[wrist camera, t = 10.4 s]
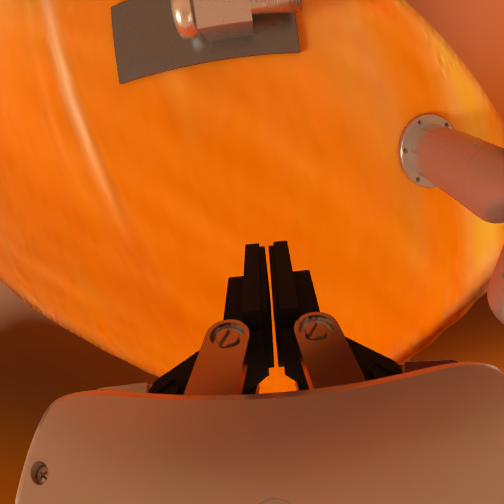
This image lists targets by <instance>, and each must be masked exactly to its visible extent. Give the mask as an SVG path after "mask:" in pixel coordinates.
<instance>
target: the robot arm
mask: <svg viewBox="0 0 504 504" xmlns="http://www.w3.org/2000/svg"><path fill="white" fill-rule="evenodd" d="M418 121H419V122H418ZM403 150H404V151H403ZM399 158H400V162H401V166H402V168H403V170H404V172H405V173H406V175H407V176H408V177H409V178H410V179H411V180H412V181H413V182H414V183H416V184H418V185H420V186H422V187H426V188H433V187H438V188H439V189H441V190H442V191H444V192H445V193H447V194H448V195H449V196H451V197H452V198H454V199H455V200H456V201H458V202H459V203H460V204H462V205H463V206H464V207H466V208H467V209H468V210H470V211H471V212H472V213H474V214H475V215H476V216H478V217H479V218H480V219H482V220H484V221H486V222H489V223H504V148H501V147H499V146H496V145H494V144H491V143H489V142H486V141H484V140H481V139H479V138H476V137H473V136H471V135H468V134H465V133H462V132H459V131H456V130H455V129H454V128H453V126H452V125H451V124H450V123H449V122H448V121H447V120H446V119H445V118H443V117H441V116H438V115H435V114H422V115H420V116H417V117H415V118H414V119H413V120H411V121H410V122H409V123H408V124H407V126H406V127H405V129H404V131H403V133H402V136H401V139H400V143H399ZM269 257H270V270H271V284H272V299H273V312H274V322H275V333H276V343H277V354H278V365H279V367H285V375H287V376H288V377H290V378H291V379H293V380H294V381H295V386H296V390H297V391H290V392H279V393H265V394H259V389H260V386H259V383H260V382H261V381H262V380H263V379H265V378H266V377H267V376H269V368H272V367H274V355H273V336H272V318H271V302H270V292H269V282H268V273H267V264H266V255H265V247H264V246H263V247H259V243H258V244H247V245H246V246H245V262H244V276H241V277H230V278H229V280H228V288H227V295H226V303H225V312H224V320H223V321H219V322H217V323H215V324H214V325H212V326H211V327H210V328H209V329H208V331H207V333H206V335H205V337H204V340H203V343H202V346H201V348H200V350H199V351H198V352H196V353H195V354H193V355H192V356H191V357H189V358H188V359H186V360H185V361H183V362H182V363H180V364H179V365H178V366H176V367H175V368H173V369H172V370H170V371H169V372H167V373H166V374H164V375H163V376H161V377H160V378H158V379H157V380H156V381H155V382H154V383H153V385H148V384H147V383H139V384H132V385H123V386H115V387H106V388H101V389H97V390H96V391H84V392H78V393H74V394H69V395H66V396H63V397H61V398H59V399H57V400H56V401H54V402H53V403H52V404H51V405H50V406H49V408H48V409H47V411H46V412H45V414H44V416H43V418H42V420H41V422H40V423H39V425H38V428H37V430H36V433H35V435H34V437H33V440H32V443H31V445H30V448H29V451H28V454H27V457H26V461H25V464H24V468H23V471H22V475H21V479H20V483H19V487H18V491H17V496H16V502H15V504H504V373H503V372H502V371H501V370H499V369H498V368H497V367H495V366H493V365H489V364H485V363H478V362H458V361H455V360H438V361H411V362H404V364H403V365H398V364H397V363H396V362H395V361H393V360H391V359H389V358H387V357H385V356H383V355H381V354H379V353H377V352H375V351H373V350H371V349H369V348H367V347H365V346H363V345H361V344H359V343H357V342H355V341H353V340H351V339H349V338H347V337H345V336H344V334H343V332H342V330H341V328H340V326H339V324H338V322H337V321H336V320H335V318H334V317H332V316H331V315H329V314H326V313H323V312H320V311H319V306H318V302H317V298H316V294H315V290H314V287H313V283H312V279H311V275H310V272H309V270H304V271H294V272H293V271H292V266H291V260H290V255H289V249H288V244H287V241H278V242H274V245H273V246H269ZM488 302H489V305H490V308H491V310H492V312H493V313H494V314H495V316H496V317H497V318H498V319H499V320H500V321H501V322H502V323H503V324H504V245H503V248H502V250H501V253H500V256H499V259H498V261H497V264H496V267H495V269H494V272H493V274H492V277H491V280H490V283H489V287H488Z"/></svg>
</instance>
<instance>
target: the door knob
mask: <svg viewBox="0 0 504 504" xmlns="http://www.w3.org/2000/svg"><path fill="white" fill-rule="evenodd" d="M250 6H251V13H252V15H255V14H267V13H287V12H301V11H302V0H250ZM171 8H172V14H173V18H174V22H175V25H176V28H177V30H178V33H179V35H180V36H181V38H182V39H183V40H186V39H191V38H195V37H200V36H201V35H202V34H201V33H200V31H199V30H198V29H197V24H196V16H195V9H194V1H193V0H171Z"/></svg>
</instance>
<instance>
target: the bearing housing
mask: <svg viewBox="0 0 504 504" xmlns="http://www.w3.org/2000/svg"><path fill="white" fill-rule="evenodd" d="M193 1H194V9H195V16H196V24H197V29H198V30H199V31H200V33H201V34H202V35H201V36H200V37H195V38H191V39H186V40H183V39H182V38H181V36H180V35H179V33H178V30H177V28H176V25H175V22H174V18H173V14H172V8H171V0H128V1H125V2H123V3H120V4H117V5H115V6H112V7H111V15H112V27H113V37H114V46H115V55H116V62H117V70H118V77H119V83H120V84H123V83H126V82H130V81H133V80H136V79H139V78H143V77H146V76H150V75H153V74H157V73H161V72H165V71H169V70H173V69H177V68H182V67H186V66H191V65H196V64H201V63H206V62H212V61H218V60H225V59H231V58H239V57H247V56H257V55H268V54H282V53H299V52H300V49H299V41H298V34H297V27H296V21H295V14H294V12H287V13H267V14H255V15H252V13H251V6H250V0H193Z"/></svg>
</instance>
